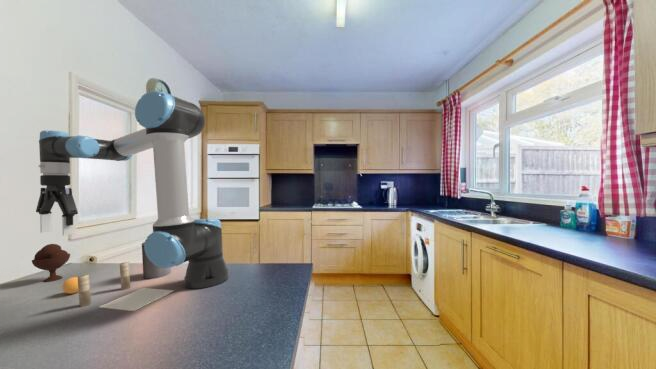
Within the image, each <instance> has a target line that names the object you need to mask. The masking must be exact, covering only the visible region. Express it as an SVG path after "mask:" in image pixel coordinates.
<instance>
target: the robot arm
mask: <svg viewBox="0 0 656 369" xmlns="http://www.w3.org/2000/svg"><path fill="white" fill-rule="evenodd" d="M134 117H135V119H136V122H137V123H138V124H139V125H140V126H142V127H143V128H142V129H139V130H137V131H134V132H131V133H129V134H126V135H123V136H120V137H118V138H115V139H112V140H107V139H98V138H93V137H91V136H89V135H88V136H87V135H73V136H71V135H70V134H69V133H68V132H66V131H60V130H48V129H47V130H42V131H40V132H39V140H38V145H39V146H38V147H39V148H38V149H39V161H40V162H39V164H38V167H39V171H40V174H41V175H40V176H39V182H40V183H39V184H40V186H42V187H41V188H40V191H39V192H40V194H39V198H38V202H37V205H36V208H35V212H36V213H38V214H39V215H40V216H39V220H40V222H39V224H40V225H39V226H40V233H41V234H42V233H43V234H44V233H49V232H52V214H53V213H52V211H51V210H52V209H53V206H54V204H55V203H57V204H58V206H59V209H60V211H61V213H62V215H61V222H62V223H61V224H62V236H70V235H74V231H75V230H74V227H75V226H74V216H75V215H78V214H79V212H78V208H77V206H76V203H75V199H74V196H73V190H72V187H66V186H70V185H71V176H70V175H69V174H71V159H87V160H88V159H91V160H105V161H116V162H121V161H122V162H123V161H124V162H127V161H129V160H130V159H131V158H132V157H133V155H135V154H139V153H142V152H144V151H147V150H150V149H153V153H152V154H153V164H154V165H153V166H154V180H155V191H156V193H155V195H156V210H157V220H155V221H154V223H153V224H152V232H151V233H150V234H148V236H147V237H146V239H145V240H144V242H145V244H144V249H145V253H146V256H147V257H148V259H149V260H150V261H151V262H152V263H153V264H154V265H156V266H158V267H160V268H170V267H171V268H173V267H177V266H180V265H183V264H184V263H186V262H187V263H188V264H187V268H186V273H185V276H184V278H183V284H184V287H185V288H188V289H202V288H203V289H204V288H208V287H209V288H210V287H213V286H217V285H219V284H221V283H224V282H225V281H227V280H228V279H229V278H230V270H229V268H228V267H227V265H226V264H227V263H226V261H225V259H224V253H223V252H224V251H223V236H222V235H223V234H222V232H223V231H222V230H223V228H222V222H221V220H220V219H218V218H202V219H198V218H197V219H194V218H193V217H191V215H190V211H189V209H190V207H189V197H188V196H189V195H188V182H187V181H188V180H187V166H186V152H185V150H186V148H185V142H186V141H187V140H189V139H192V138H195V137H196V136H198V135H200V134H201V133H202V132H203V130H205V127H206V117H205V114H204V112H203V111H202V109H201V108H200V107H199V106H197V105H196V104H195V103H193V102H190V101H187V100H185V99H181V98H180V97H178V96H174V95H172V94H171V93H169V92H163V91H161V90H150V91H148V92H146V93H144V94H143V95H142V96H141V97H140V99H138V100H137V103H136V105H135V110H134ZM45 186H46V187H45Z"/></svg>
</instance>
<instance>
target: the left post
mask: <svg viewBox="0 0 656 369" xmlns="http://www.w3.org/2000/svg"><path fill="white" fill-rule="evenodd" d="M77 277H78V301H79V302H78V303H79V308H80V307H82V308H83V307H86V306H90V304H92V302H91V301H92V300H91V299H92V298H91V287H90V284H91V283H90V275H89V274H83V275H79V276H77Z"/></svg>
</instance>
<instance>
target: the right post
mask: <svg viewBox="0 0 656 369" xmlns="http://www.w3.org/2000/svg"><path fill="white" fill-rule="evenodd" d="M119 273H120V288H121V289H122V290H123V291H124V290H128V289H129V290H130V289H131V275H130V263H129V262H127V261H125V262H122V263H120V264H119Z"/></svg>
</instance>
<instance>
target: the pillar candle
mask: <svg viewBox="0 0 656 369" xmlns="http://www.w3.org/2000/svg"><path fill="white" fill-rule="evenodd" d="M144 244H145V241H144V242H142V243H141V257H142V278H144V279H147V280H151V279H158V278H159V279H160V278H161V277H165V276H168V275H169V274H171V272H172V267H170V268H160V267H158V266H156V265H154V264H153V263H152V262H151V261H150V260H149V259H148V257H147V256H146V253H145V249H144Z"/></svg>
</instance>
